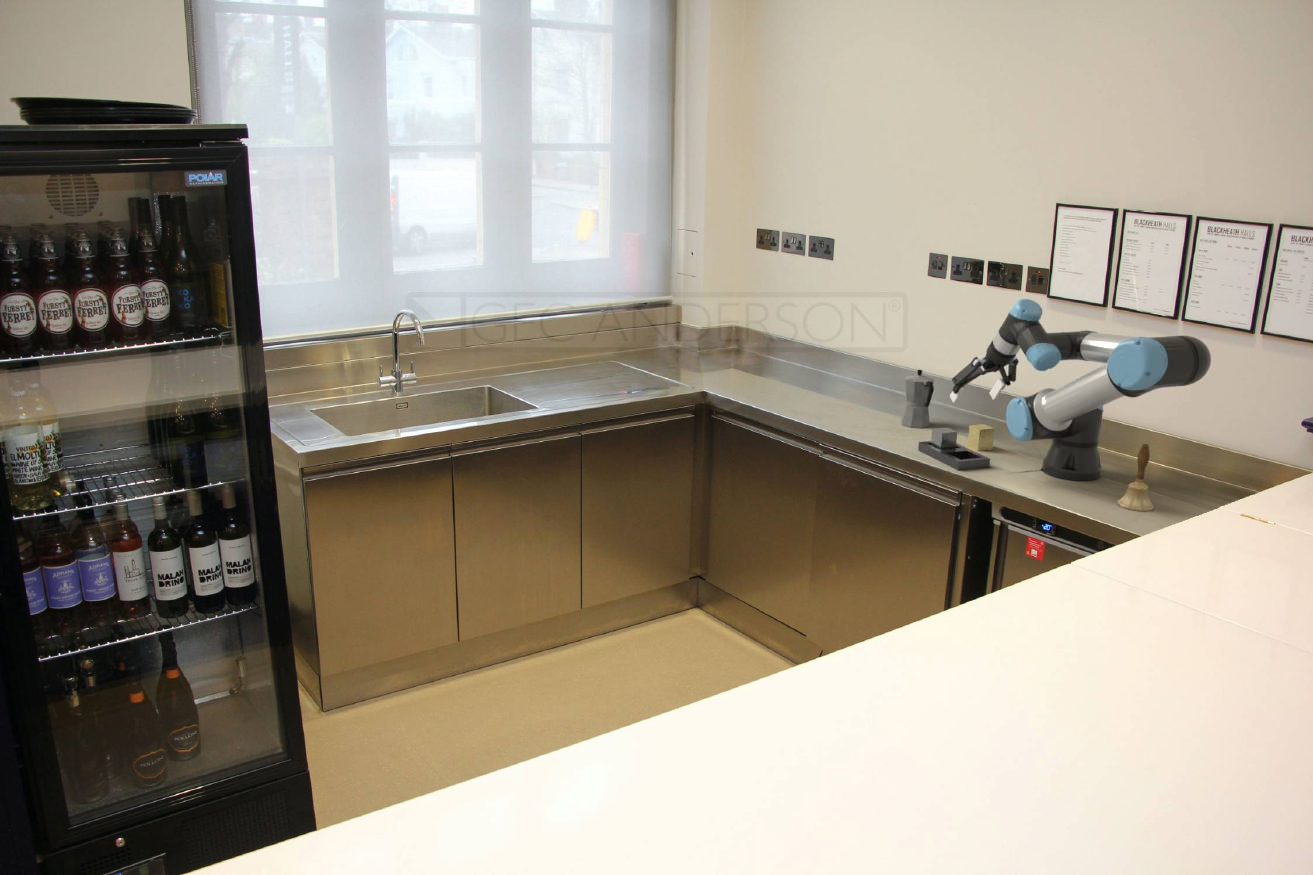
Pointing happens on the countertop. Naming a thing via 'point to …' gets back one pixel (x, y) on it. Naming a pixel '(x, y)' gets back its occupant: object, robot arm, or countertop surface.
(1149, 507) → the hand bell
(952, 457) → the dark grey tray
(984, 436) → the yellow block
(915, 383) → the coffeepot
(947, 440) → the grey block
